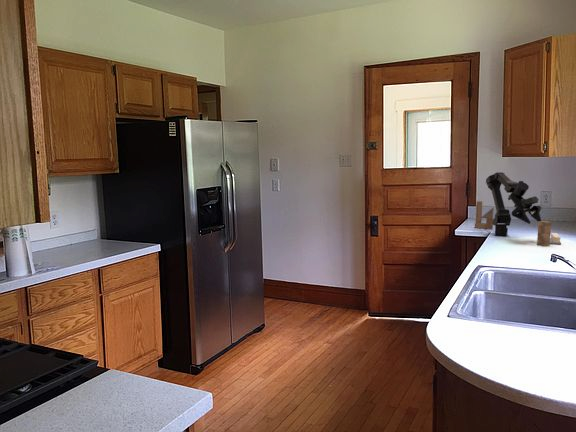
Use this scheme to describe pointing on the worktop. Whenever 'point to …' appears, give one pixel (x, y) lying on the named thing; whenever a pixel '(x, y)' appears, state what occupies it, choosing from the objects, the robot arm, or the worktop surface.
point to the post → (544, 233)
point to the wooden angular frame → (479, 216)
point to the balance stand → (555, 239)
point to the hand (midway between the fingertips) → (535, 222)
